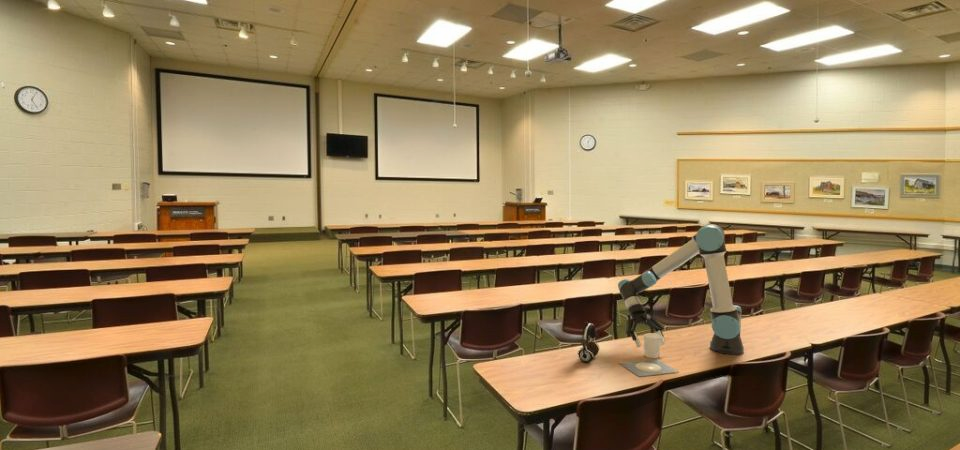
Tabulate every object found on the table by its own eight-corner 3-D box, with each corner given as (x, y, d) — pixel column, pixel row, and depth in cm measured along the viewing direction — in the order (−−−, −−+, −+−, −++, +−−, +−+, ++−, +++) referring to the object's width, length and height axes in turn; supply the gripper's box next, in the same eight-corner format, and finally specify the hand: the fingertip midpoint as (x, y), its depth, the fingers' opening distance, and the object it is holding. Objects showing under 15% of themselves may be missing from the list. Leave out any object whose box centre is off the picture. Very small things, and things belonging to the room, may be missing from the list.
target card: (656, 359, 218) (656, 358, 218) (678, 372, 203) (678, 371, 203) (619, 363, 213) (619, 362, 213) (639, 377, 198) (639, 376, 198)
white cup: (661, 359, 219) (662, 338, 218) (644, 358, 220) (645, 337, 220) (658, 353, 226) (659, 333, 226) (642, 352, 228) (642, 332, 227)
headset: (591, 366, 210) (591, 325, 208) (575, 363, 213) (575, 322, 212) (600, 355, 224) (601, 316, 223) (585, 352, 228) (586, 314, 226)
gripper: (652, 309, 242) (669, 346, 229) (610, 312, 236) (625, 350, 223) (659, 301, 237) (677, 339, 223) (615, 304, 230) (632, 343, 217)
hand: (651, 344), depth 223 cm, fingers open, 13 cm apart
